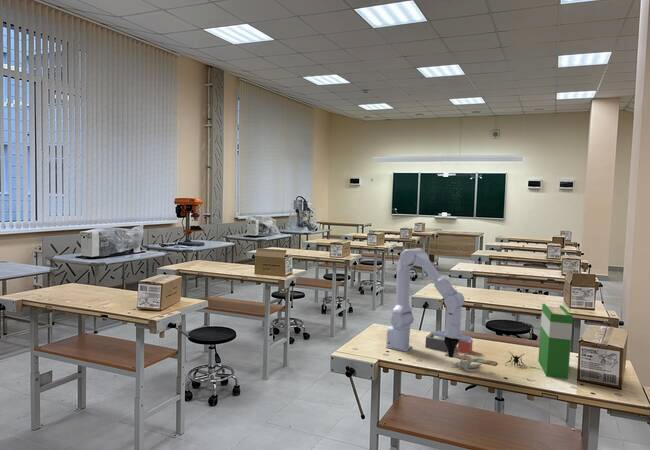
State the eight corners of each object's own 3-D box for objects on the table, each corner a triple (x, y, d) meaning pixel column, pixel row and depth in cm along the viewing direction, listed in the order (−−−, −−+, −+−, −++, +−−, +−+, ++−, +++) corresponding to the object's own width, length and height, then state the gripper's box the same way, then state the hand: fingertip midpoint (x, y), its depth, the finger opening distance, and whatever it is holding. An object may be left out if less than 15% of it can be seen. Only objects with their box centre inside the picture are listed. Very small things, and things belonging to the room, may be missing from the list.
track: (445, 355, 191) (445, 354, 191) (447, 353, 194) (447, 352, 194) (495, 365, 182) (495, 364, 182) (496, 362, 185) (496, 361, 185)
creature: (526, 373, 178) (526, 363, 185) (527, 361, 176) (527, 351, 183) (504, 370, 181) (505, 359, 188) (505, 358, 179) (506, 348, 186)
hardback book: (538, 360, 190) (542, 303, 188) (557, 363, 188) (562, 305, 186) (546, 376, 173) (550, 313, 171) (567, 379, 171) (572, 316, 169)
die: (457, 351, 197) (458, 339, 196) (460, 348, 201) (460, 337, 201) (469, 354, 194) (470, 342, 194) (471, 350, 199) (472, 339, 198)
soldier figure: (485, 371, 178) (472, 369, 169) (475, 377, 180) (461, 375, 171) (475, 353, 182) (462, 350, 174) (465, 359, 184) (451, 356, 176)
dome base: (425, 347, 201) (425, 337, 201) (431, 341, 210) (431, 331, 209) (448, 351, 196) (448, 341, 196) (453, 345, 205) (454, 335, 205)
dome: (430, 346, 202) (430, 333, 201) (434, 342, 207) (434, 330, 207) (445, 349, 198) (446, 336, 198) (448, 345, 204) (449, 332, 204)
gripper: (473, 324, 182) (471, 357, 183) (437, 318, 189) (435, 350, 190) (470, 328, 176) (468, 362, 177) (433, 321, 183) (430, 355, 183)
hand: (450, 356), depth 183 cm, fingers closed
